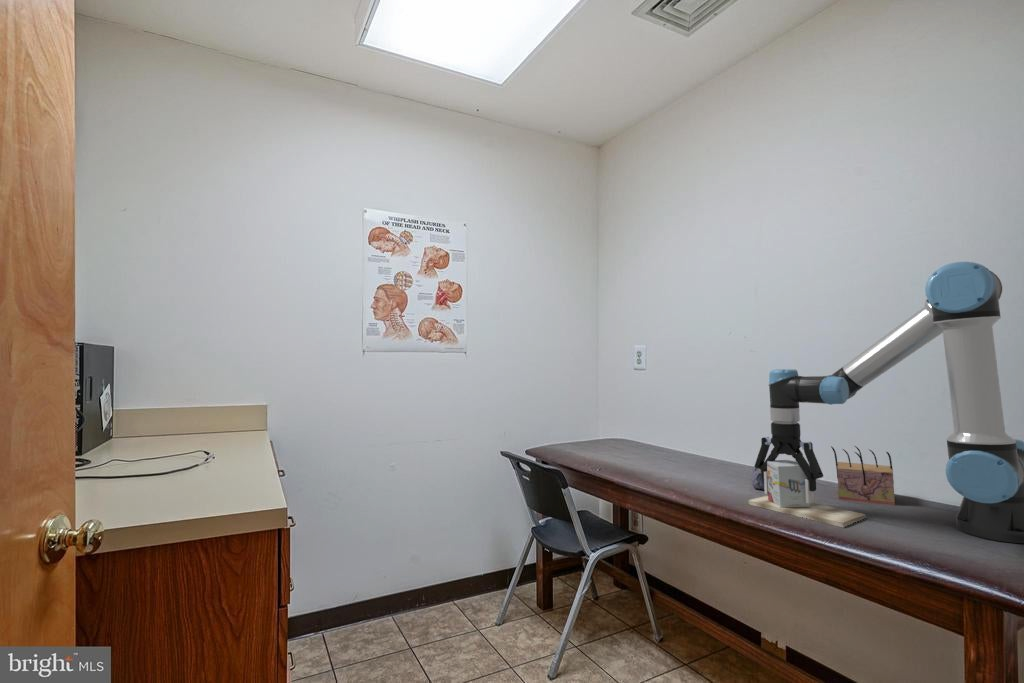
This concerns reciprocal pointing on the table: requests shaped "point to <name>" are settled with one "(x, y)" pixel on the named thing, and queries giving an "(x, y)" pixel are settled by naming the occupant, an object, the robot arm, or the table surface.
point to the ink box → (786, 483)
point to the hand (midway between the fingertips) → (788, 497)
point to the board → (813, 512)
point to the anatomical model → (865, 481)
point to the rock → (757, 478)
